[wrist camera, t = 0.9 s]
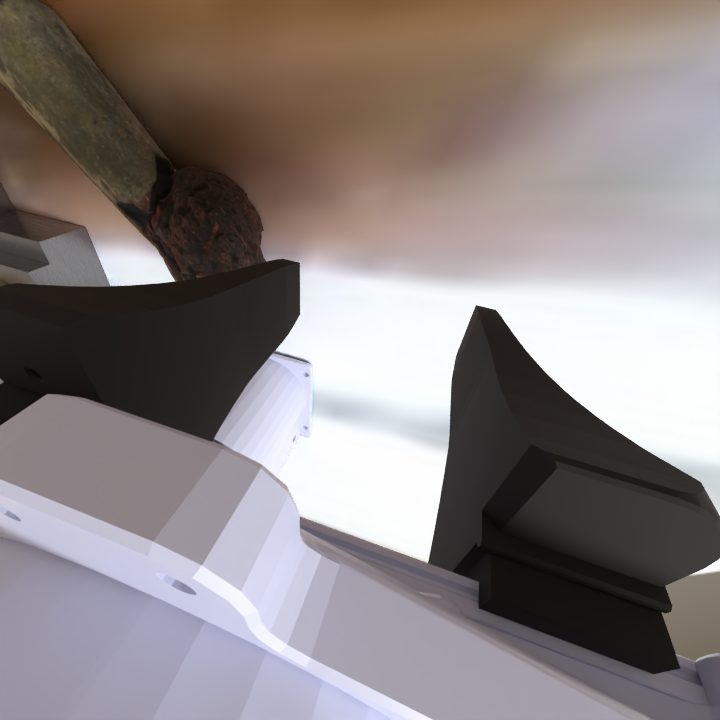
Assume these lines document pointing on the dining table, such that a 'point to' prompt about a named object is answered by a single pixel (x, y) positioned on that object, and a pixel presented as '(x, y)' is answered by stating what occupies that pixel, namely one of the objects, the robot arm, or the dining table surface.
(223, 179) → the brown elongated piece
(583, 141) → the dining table surface
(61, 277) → the gray angular bracket
